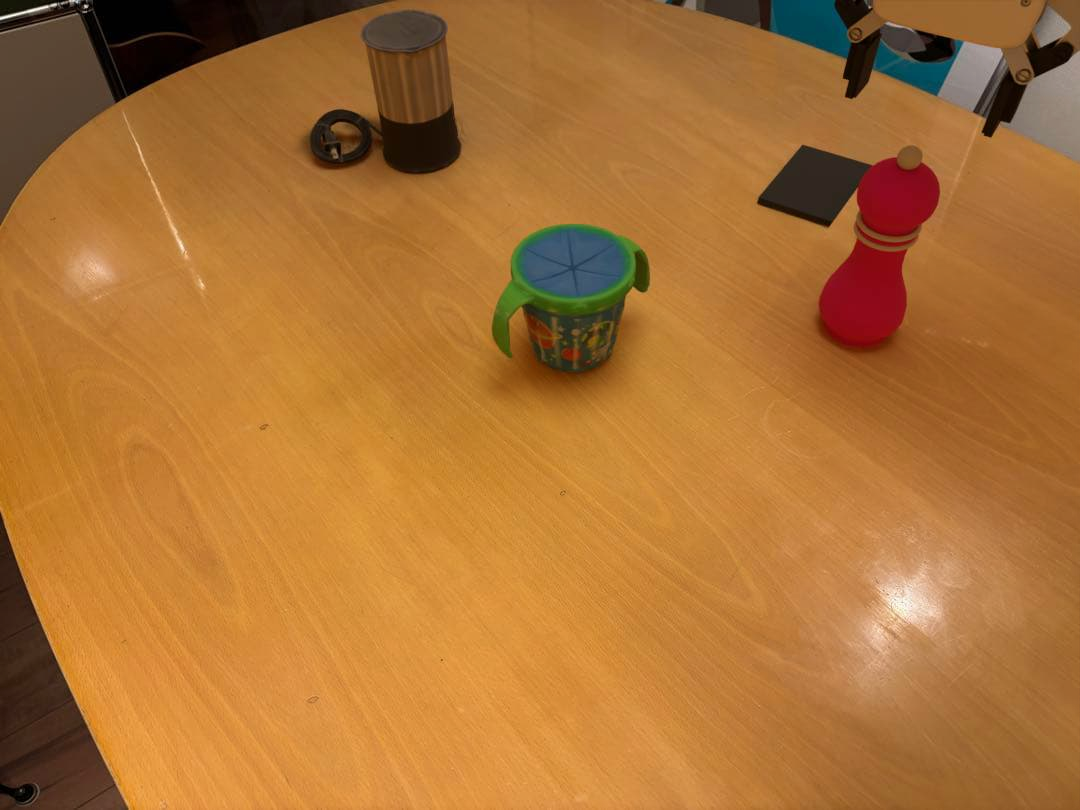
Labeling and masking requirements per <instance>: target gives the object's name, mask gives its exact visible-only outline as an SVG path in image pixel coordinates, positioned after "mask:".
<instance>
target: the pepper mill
mask: <svg viewBox="0 0 1080 810" xmlns="http://www.w3.org/2000/svg"><path fill="white" fill-rule="evenodd" d="M923 158H924V157H923V152H922V149H920V148H919V147H918V146H917V145H913V144H912V145H911V144H910V145H906V146H904V147H902V148H901V149H900V150H899V151H898V153H897V156H894V157H893V156H892V157H888V158H885V159H882V160H880V161H878V162H876V163H875V164H872V165H873V166H872V167H870V168H869V169H868V171H867V172H866V173H865V174H864V176H863V177H862V179H861V181H860V184H859V186H858V188H857V189H856V204H857V206H858V209H859V211H857V214H856V217H855V218H856V219H855V221H854V222H853V223H854V224H853V232H854V234H855V236H856V241H855V243H854V245H853V248H852V250H851V252H850V253H849V255H848V256H847V258H846V259H845V260H844V261H843V262H842V263H841V264H840V265H839V267H838V268H836V269H835V271H833V273H831V275H830V276H829V278H828V279H827V281H826V282H825V284H824V285H823V288H822V290H821V292H820V295H819V299H818V309H819V313H820V316H821V318H822V320H823V326H824V329H825V331H826V333H828V335H829V336H830V337H831V338H832V339H833V340H836V341H837V342H839V343H841V344H843V345H846V346H849V347H854V348H869V347H874V346H876V345H878V344H881V343H882V342H883V341H884V340H885V339H886V337H888V336H890V335H891V334H893V333H894V332H896V331H897V330H898V329H899V327H900V326H901V325H902V323H903V321H904V319H905V314H906V311H907V306H908V302H907V301H908V297H907V295H908V294H907V288H906V284H905V279H904V275H903V265H904V260H905V257H906V255H907V252H908V250H909V249H910V248H912V247H914V246H915V245H916V243H917V242H918V240H919V237H920V234H921V232H922V230H923V224H924V223H925V222H927V221H928V220H929V219H930V218H931V217H932V216H933V215H934V213H935V211H936V209H937V208H938V205H939V201H940V195H941V185H940V181H939V179H938V177H937V175H936V173H935V172H934V170H933V169H932V168H931V167H929V166H928V165H927V164H925V163H924V162H923Z"/></svg>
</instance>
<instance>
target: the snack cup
mask: <svg viewBox="0 0 1080 810" xmlns="http://www.w3.org/2000/svg"><path fill="white" fill-rule="evenodd" d="M510 276H511V279H510V281H509V283H508V284H507V285H506V286H505V288H504V290H503V291H502V292H501V295H500V296H499V298H498V299H497V303H496V306H495V309H494V312H493V317H492V324H491V335H492V338H493V340H494V341H493V342H495V344H496V345H497V347H498V349H499V350H500V351H501V353H503V354H504V355H505V357H506V358H508V359H513V357H514V356H513V353H512V351H511V337H510V334H511V333H510V320H511V318H512V317H513V316H514V314H515V313H516V312H517V311H518V310H519V309H520V308H522V312H523V313H522V314H523V317H524V321H525V325H526V328H527V332H528V336H529V342H530V344H531V347H532V349H533V352H534V354H535V356H536V358H537V360H538V362H540V363H541V364H543V365H546V366H548V367H550V368H552V369H554V370H557V371H561V372H564V373H567V372H569V373H572V374H575V375H577V374H581V373H582V374H583V373H584V372H585V371H588V370H593V369H595V368H597V367H598V366H600V365H601V364H603V363H604V362H605V361H606V360H607V359H609V358H610V357H611V356H612V354H613V349H614V347H615V345H616V342H617V339H618V333H619V330H620V327H621V322H622V319H623V314H624V310H625V306H626V305H625V304H626V303H625V302H626V297H627V295H628V294H629V293H630V292H631V291H632V289H633V288H634V289H635V290H637V292H640V293H642V294H643V293H647V292H648V290H649V287H650V284H651V283H650V282H651V269H650V263H649V258H648V256H647V253H646V251H644V250H643V248H642V247H640V246H639V245H638V243H636V242H634V241H633V240H632V239H629V237H626V236H624V235H622V234H621V235H620V234H617V233H614V232H612V231H610V230H609V229H606V228H604V227H600V226H597V225H591V224H585V223H562V224H561V223H560V224H555V225H550V226H546V227H544V228H541V229H537V230H536V231H534V232H532V233H530V234H529V235H527V236H526V237H524V239H522V240H520V242H518V244H517V245H516V246H515V248H514V250H513V252H512V255H511V257H510Z"/></svg>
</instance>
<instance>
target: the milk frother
mask: <svg viewBox="0 0 1080 810" xmlns="http://www.w3.org/2000/svg"><path fill="white" fill-rule="evenodd" d="M447 33H448V24H447V22H446V20H445V19H443V18H442V16H439V15H438V14H436V13H433V12H430V11H427V10H422V9H421V10H419V9H409V8H408V9H402V10H394V11H390V12H386V13H383V14H380V15H377V16H375V17H373V18H372V19H370V20H369V21H367V22H366V23H365V24H364V25H363V26H362V27H361V30H360V38H361V40H362V42H363V43H364V44H365V50H366V54H367V61H368V64H369V65H368V66H369V71H370V75H371V81H372V87H373V90H374V97H375V102H376V106H377V111H378V118H379V122H380V129H379V128H378V127H376V125H374V124H372V123H371V121H369V120H368V119H366V118H365V117H364V116H362V115H361V114H359V113H358V112H355V111H353V110H349V109H343V108H337V109H332V110H329V111H328V112H325V113H324V114H323V115H322V116H320V118H318V120H316V122H315V123H314V125H313V126H312V129H311V131H310V134H309V145H310V149H311V151H312V153H313V155H314V156H315V157H316V158H317V159H318V160H320V161H321V162H323V163H325V164H329V165H334V166H335V165H338V166H339V165H341V166H342V165H348V164H353V163H355V162H358V161H359V160H362V158H364V156H365V155H366V154H367V153H368V152H369V150H370V148H371V145H372V140H373V137H372V136H373V135H372V130H373V131H374V132H376V133H377V134H378V135H379V136H380V137H382V144H383V145H382V146H383V148H382V156H383V158H384V161H385V162H386V163H387V164H388V165H389V166H391V167H392V168H394V169H397V170H399V171H401V172H407V173H428V172H432V171H437V170H439V169H443V168H445V167H447V166H449V165H450V164H451V163H453V162H454V161H455V160H456V159H457V158H458V157H459V155H460V153H461V150H462V144H461V140H460V139H459V133H458V125H457V122H456V116H455V106H454V98H453V87H452V78H451V69H450V61H449V52H448V51H449V50H448V43H447ZM338 123H346V124H349V125H352V126H353V127H355V128H356V129H358V131H359V132H360V135H361V140H360V141H359V143H358V145H357V146H356V147H355V148H354V149H352V150H351V151H349V152H345V153H342V143H341V141H340V140H338V139H337V138H336V136H335V131H333V130H332V126H335V125H336V124H338ZM371 129H372V130H371ZM322 141H323V143H324V144H323V145H322Z"/></svg>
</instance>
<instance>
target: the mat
mask: <svg viewBox="0 0 1080 810" xmlns="http://www.w3.org/2000/svg"><path fill="white" fill-rule="evenodd" d="M873 165H874V164H870V163H868V162H867V163H866V162H863V161H859V160H856V159H853V158H849V157H846V156H843V155H839V154H837V153H833V152H829V151H826V150H822V149H819V148H816V147H812V146H809V145H805V144H802V145H801V146H800V147H798V149H797V150H796V152H795V153H794V154H793V155H792V157H791V158H790V159H789V160H788V161H787V163H786V164H784V165H783V166H782V168H781V169H780V171H779V172H778V173H777V175H776V176H775V177H774V178H773V179H772V180H771V182H770V183H769V184H768V185H767V186H766V188H765V189H764V190H763V191H762V193H760V194H759V196H758V197H757V204H758V205H762V206H765V207H768V208H771V209H773V210H777V211H780V212H783V213H786V214H789V215H792V216H794V217H797V218H801V219H804V220H807V221H810V222H813V223H816V224H818V225H822V226H825V227H828V228H830V227H831V225H832V224H833V223H834V222H835V220H836V219H837V217H838V216H839V214H840V213H841V211H842V210H843V209H844V208H845V206H846V204H847V203H848V202H849V200H850V199H851V198H852V196H853V195H854V193H855V192H857V190H858V186H859V184H860V181H861V179H862V177H863V176H864V174H865V173H866V172H867V171H868V169H869V168H870V167H872V166H873Z"/></svg>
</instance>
